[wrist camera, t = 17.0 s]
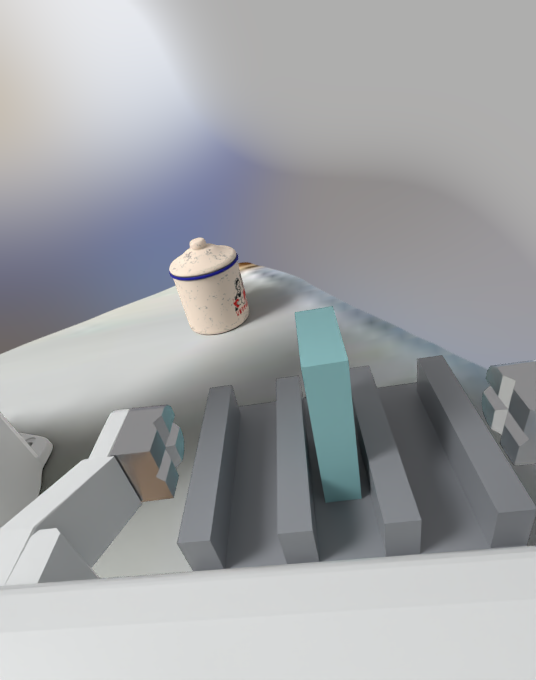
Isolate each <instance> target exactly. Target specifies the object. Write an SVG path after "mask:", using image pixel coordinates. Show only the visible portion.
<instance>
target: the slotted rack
mask: <svg viewBox="0 0 536 680" xmlns="http://www.w3.org/2000/svg"><path fill="white" fill-rule="evenodd" d="M349 372H350V383H351V393H352V403H353V414H354V424H355V434H356V445H357V455H358V466H359V476H360V486H361V497H362V499H354V500H346V501H337V502H328V503H325V497H324V492H323V486H322V481H321V475H320V470H319V464H318V458H317V453H316V447H315V442H314V436H313V431H312V425H311V420H310V414H309V409H308V403H307V398H306V397H305V398H303V394H302V389H301V384H300V378H299V376H292V377H285V378H278V379H276V402H268V403H261V404H253V405H246V406H238V404H237V400H236V397H235V394H234V391H233V388H232V385H228V386H221V387H214V388H210V390H209V394H208V399H207V404H206V408H205V413H204V418H203V423H202V427H201V432H200V437H199V442H198V446H197V451H196V456H195V461H194V465H193V470H192V475H191V480H190V484H189V489H188V494H187V499H186V503H185V508H184V513H183V518H182V522H181V527H180V532H179V537H178V541H177V544H178V546H179V548H180V549H181V551H182V553H183V555H184V556H185V558H186V560H187V561H188V563H189V565H190V567H191V568H192V570H193V571H205V570H218V569H232V568H245V567H258V566H271V565H284V564H298V563H311V562H324V561H337V560H350V559H363V558H376V557H389V556H403V555H416V554H429V553H442V552H455V551H468V550H481V549H494V548H508V547H521V546H527V542H528V539H529V536H530V533H531V529H532V526H533V523H534V520H535V517H536V505H535V504H534V502H533V501H532V499H531V497H530V496H529V494H528V492H527V491H526V489H525V488H524V486H523V484H522V483H521V481H520V480H519V478H518V476H517V475H516V473H515V472H514V470H513V468H512V467H511V465H510V464H509V462H508V460H507V459H506V457H505V455H504V454H503V452H502V451H501V449H500V447H499V446H498V444H497V443H496V441H495V439H494V438H493V436H492V435H491V433H490V431H489V430H488V428H487V427H486V425H485V423H484V422H483V420H482V419H481V417H480V415H479V414H478V412H477V410H476V409H475V407H474V406H473V404H472V402H471V401H470V399H469V398H468V396H467V394H466V393H465V391H464V390H463V388H462V386H461V385H460V383H459V382H458V380H457V378H456V377H455V375H454V374H453V372H452V370H451V369H450V367H449V365H448V364H447V362H446V361H445V359H444V357H443V356H442V355H441V356H434V357H427V358H419V359H417V383H410V384H402V385H395V386H387V387H380V388H377V387H376V384H375V382H374V379H373V376H372V373H371V370H370V367H369V366H363V367H356V368H349Z"/></svg>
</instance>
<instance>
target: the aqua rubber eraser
mask: <svg viewBox="0 0 536 680" xmlns="http://www.w3.org/2000/svg"><path fill="white" fill-rule="evenodd" d="M295 319H296V328H297V337H298V345H299V354H300V363H301V370H302V376H303V381H304V387H305V392H306V398H307V403H308V409H309V414H310V420H311V425H312V431H313V436H314V442H315V447H316V453H317V458H318V464H319V470H320V475H321V481H322V486H323V492H324V497H325V503H328V502H337V501H346V500H354V499H362V497H361V486H360V476H359V466H358V455H357V445H356V434H355V424H354V414H353V403H352V393H351V383H350V372H349V362H348V358H347V354H346V351H345V347H344V344H343V340H342V337H341V333H340V330H339V327H338V323H337V320H336V316H335V313H334V309H333V306H331V307H325V308H319V309H313V310H307V311H300V312H295Z"/></svg>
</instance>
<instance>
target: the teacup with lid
mask: <svg viewBox="0 0 536 680" xmlns="http://www.w3.org/2000/svg"><path fill="white" fill-rule="evenodd" d="M190 247H191V248H189V249H188V250H186V251H185V252H184V254H183V255H181V256H179V257H178V258H176V259H175V260H174V261H173V262H172V264H171V265H170V271H169V272H170V276H171V277H172V278H173V279H174V282H175V285H176V288H177V290H178V293H179V296H180V299H181V302H182V305H183V308H184V310H185V313H186V316H187V319H188V322H189V325H190V327H191V329H192V330H193V331H195V332H197V333H200V334H206V335H212V334H219V333H223V332H227V331H229V330H232V329H234V328H236V327H238V326H239V325H241V324H242V323H243V322H244V321H245V320H246V319H247V317H248V315H249V306H248V302H247V298H246V294H245V290H244V286H243V282H242V278H241V274H240V270H239V266H238V262H237V260H238V255H237V253H236V252H235V250H234V249H232V248H231V247H228V246H222V245H218V246H217V245H214V244H206V242H205V239H203V238H196V239H193V240H191V241H190Z"/></svg>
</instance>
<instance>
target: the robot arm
mask: <svg viewBox="0 0 536 680" xmlns="http://www.w3.org/2000/svg"><path fill="white" fill-rule="evenodd" d="M486 380H487V381H488V383H489V384H490V386H489V387H488V388H487V389H486V390H485V391H484V392H483V396H482V408H483V414H484V416H485V419H486V421H487V423H488V425H489V426H490V428H491V429H492V430H494V431H496V432H497V433H499V434H501V435H502V436H501V441H500V444H501V446H502V447H503V449H504V450H505V452H506V454H507V455H508V457H509V458H510V460H511V461H512V463H513V465H529V464H536V360H534V361H525V362H517V363H509V364H501V365H494V366H490V367H489V369H488V370H487V375H486ZM174 416H175V414H174V412H173V410H172V408H171V406H169V405H160V406H150V407H139V408H132V409H122V410H114V411H113V412H112V413H110V415H109V417H108V419H107V421H106V423H105V425H104V427H103V429H102V431H101V433H100V436H99V438H98V440H97V442H96V444H95V446H94V448H93V450H92V452H91V454H90V456H89V458H88V459H84V460H82V461H80V462H79V463H78V464H77V465H76V466H74V467H73V468H72V469H71V470H70V471H68V472H67V473H66V474H65V475H64V476H62V477H61V478H60V479H59V480H58V481H56V482H55V483H54V484H53V485H52V486H50V487H49V488H48V489H47V490H46V491H44V492H43V493H42V494H41V495H40V496H38V495H39V492H40V488H41V478H42V470H43V466H44V465H45V463H46V461H47V459H48V458H49V456H50V454H51V451H52V449H53V444H52V443H51V442H50V441H49V440H48V439H47V438H45V437H42V436H36V435H30V434H25V433H19V432H17V431H16V429H15V428H14V427H13V426H12V425H11V424H10V422H9V421H8V420H7V419H6V418H5V417H4V416H3V414H2V413H1V412H0V680H536V545H534V546H521V547H508V548H494V549H481V550H468V551H455V552H442V553H429V554H416V555H403V556H389V557H376V558H363V559H350V560H337V561H324V562H311V563H298V564H284V565H271V566H258V567H245V568H232V569H218V570H205V571H192V572H179V573H165V574H152V575H139V576H126V577H112V578H99V576H98V575H97V574H96V573H95V572H94V571H93V570H92V567H93V565H94V564H95V563H96V561H97V560H98V559H99V558H100V556H101V555H102V554H103V553H104V551H105V550H106V549H107V548H108V546H109V545H110V544H111V543H112V541H113V540H114V539H115V537H116V536H117V535H118V534H119V532H120V531H121V530H122V529H123V527H124V526H125V525H126V524H127V522H128V521H129V520H130V518H131V517H132V516H133V515H134V513H135V512H136V511H137V510H138V508H139V507H140V506H141V505H142V502H146V501H154V500H162V499H170V498H174V494H175V490H176V485H177V481H178V477H179V475H178V473H177V471H176V467H177V466H178V465H179V464H180V463H181V462H182V459H183V455H184V438H183V434H182V431H181V428H180V427H179V426H178V425H176V424H175V423H173V420H174Z"/></svg>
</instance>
